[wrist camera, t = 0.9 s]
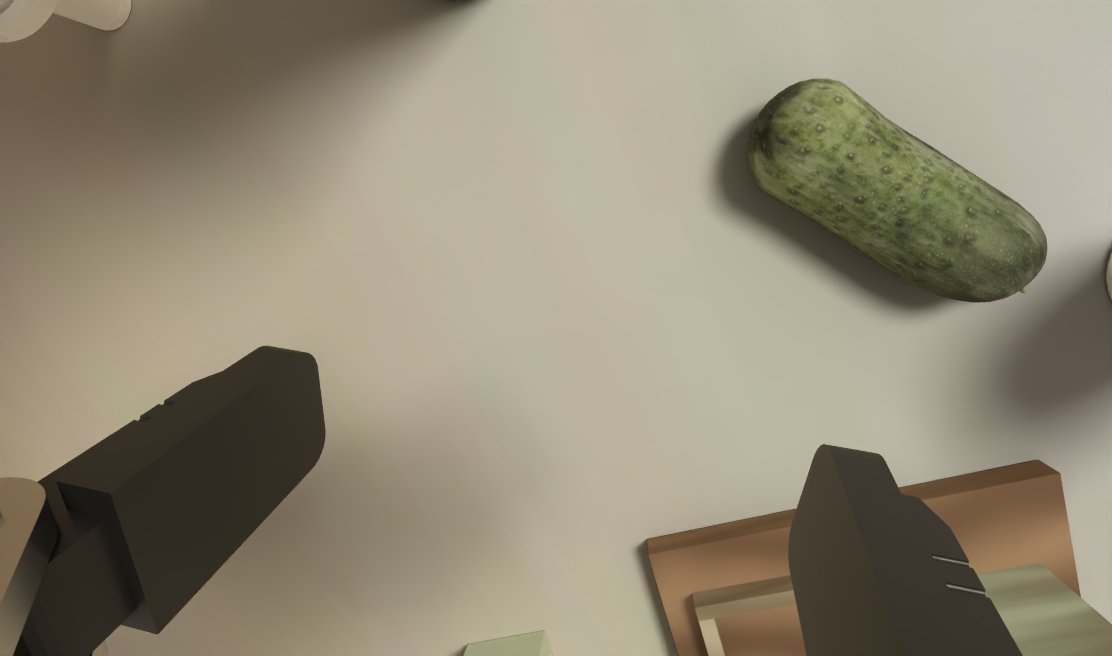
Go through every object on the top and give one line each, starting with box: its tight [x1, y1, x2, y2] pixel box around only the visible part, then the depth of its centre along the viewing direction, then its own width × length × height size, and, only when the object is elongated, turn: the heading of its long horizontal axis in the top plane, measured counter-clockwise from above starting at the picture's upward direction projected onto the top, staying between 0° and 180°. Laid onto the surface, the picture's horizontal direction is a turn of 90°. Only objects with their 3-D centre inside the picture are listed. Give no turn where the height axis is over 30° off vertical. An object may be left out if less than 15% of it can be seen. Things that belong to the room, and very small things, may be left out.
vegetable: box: [748, 79, 1047, 302], centre depth 25 cm, size 14×5×5 cm, turn 58°
